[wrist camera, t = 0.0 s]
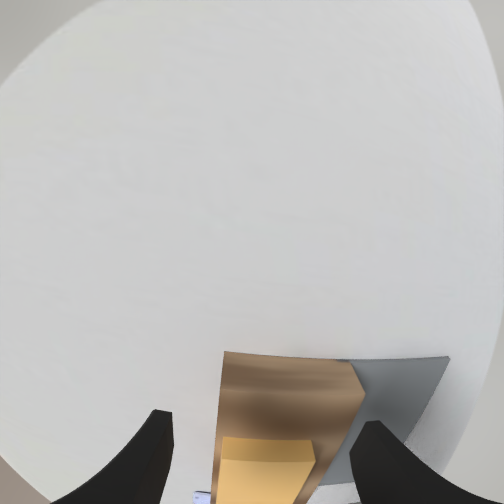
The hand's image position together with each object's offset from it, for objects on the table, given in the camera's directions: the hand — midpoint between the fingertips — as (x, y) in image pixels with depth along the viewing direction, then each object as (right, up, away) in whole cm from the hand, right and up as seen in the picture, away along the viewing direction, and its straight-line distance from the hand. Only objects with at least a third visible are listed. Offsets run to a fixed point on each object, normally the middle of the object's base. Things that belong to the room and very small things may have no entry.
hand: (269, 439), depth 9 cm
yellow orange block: (0, -10, +9) cm, 14 cm away
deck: (+1, -9, +13) cm, 16 cm away
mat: (+10, -10, +13) cm, 19 cm away
